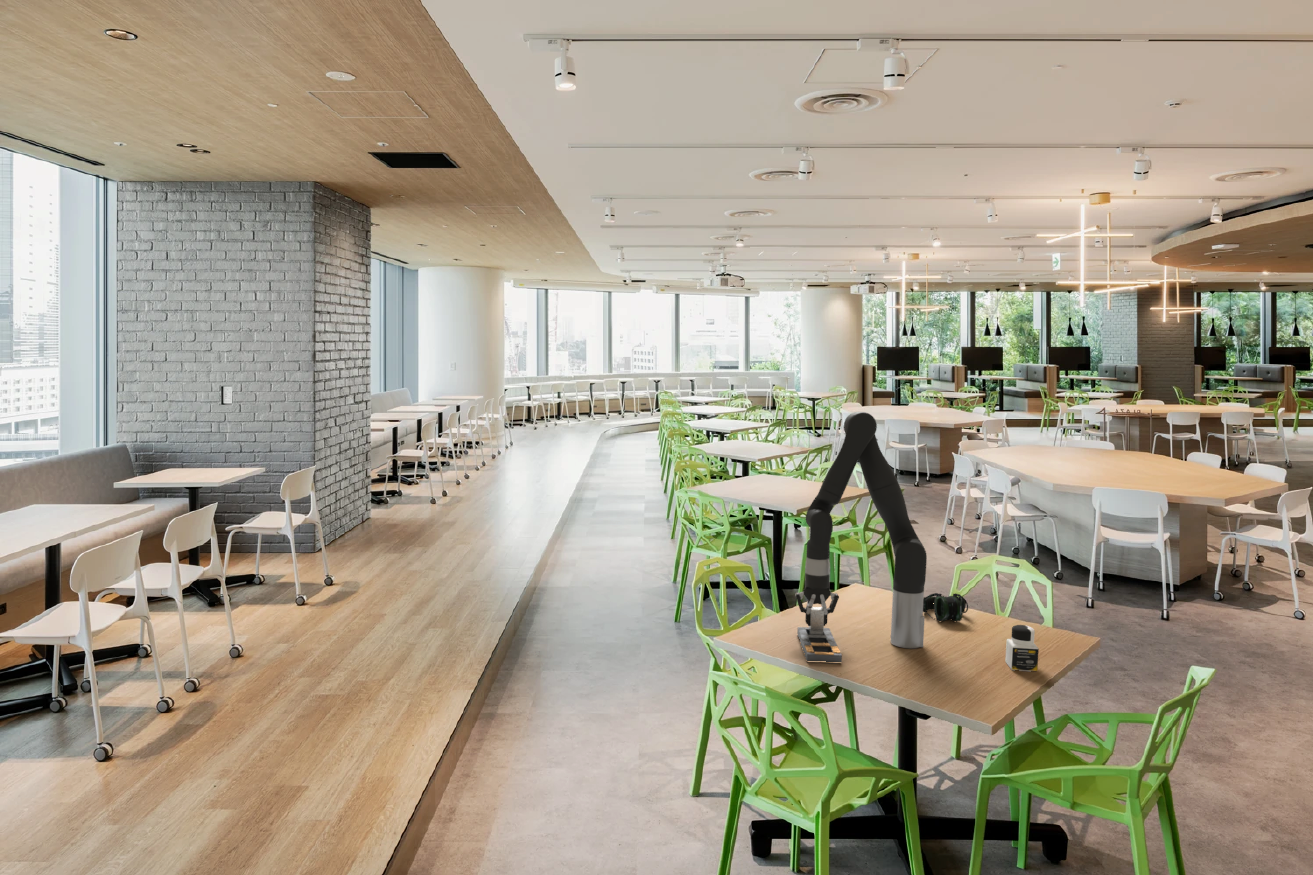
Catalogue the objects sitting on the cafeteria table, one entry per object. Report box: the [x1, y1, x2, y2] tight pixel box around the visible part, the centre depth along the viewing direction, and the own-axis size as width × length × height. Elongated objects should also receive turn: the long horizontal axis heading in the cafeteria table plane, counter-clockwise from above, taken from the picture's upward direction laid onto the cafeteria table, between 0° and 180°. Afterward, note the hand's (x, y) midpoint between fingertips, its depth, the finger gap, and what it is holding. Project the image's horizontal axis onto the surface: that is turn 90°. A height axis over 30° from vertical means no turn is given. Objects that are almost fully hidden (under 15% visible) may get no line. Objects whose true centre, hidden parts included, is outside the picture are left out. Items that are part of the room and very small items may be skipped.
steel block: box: [808, 606, 825, 635], centre depth 267 cm, size 4×4×9 cm
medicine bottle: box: [1005, 624, 1040, 672], centre depth 247 cm, size 7×7×12 cm
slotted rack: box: [796, 626, 843, 662], centre depth 260 cm, size 10×25×3 cm, turn 177°
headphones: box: [923, 592, 969, 622], centre depth 294 cm, size 13×13×20 cm
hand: (816, 625), depth 268 cm, fingers closed on steel block, 4 cm apart
